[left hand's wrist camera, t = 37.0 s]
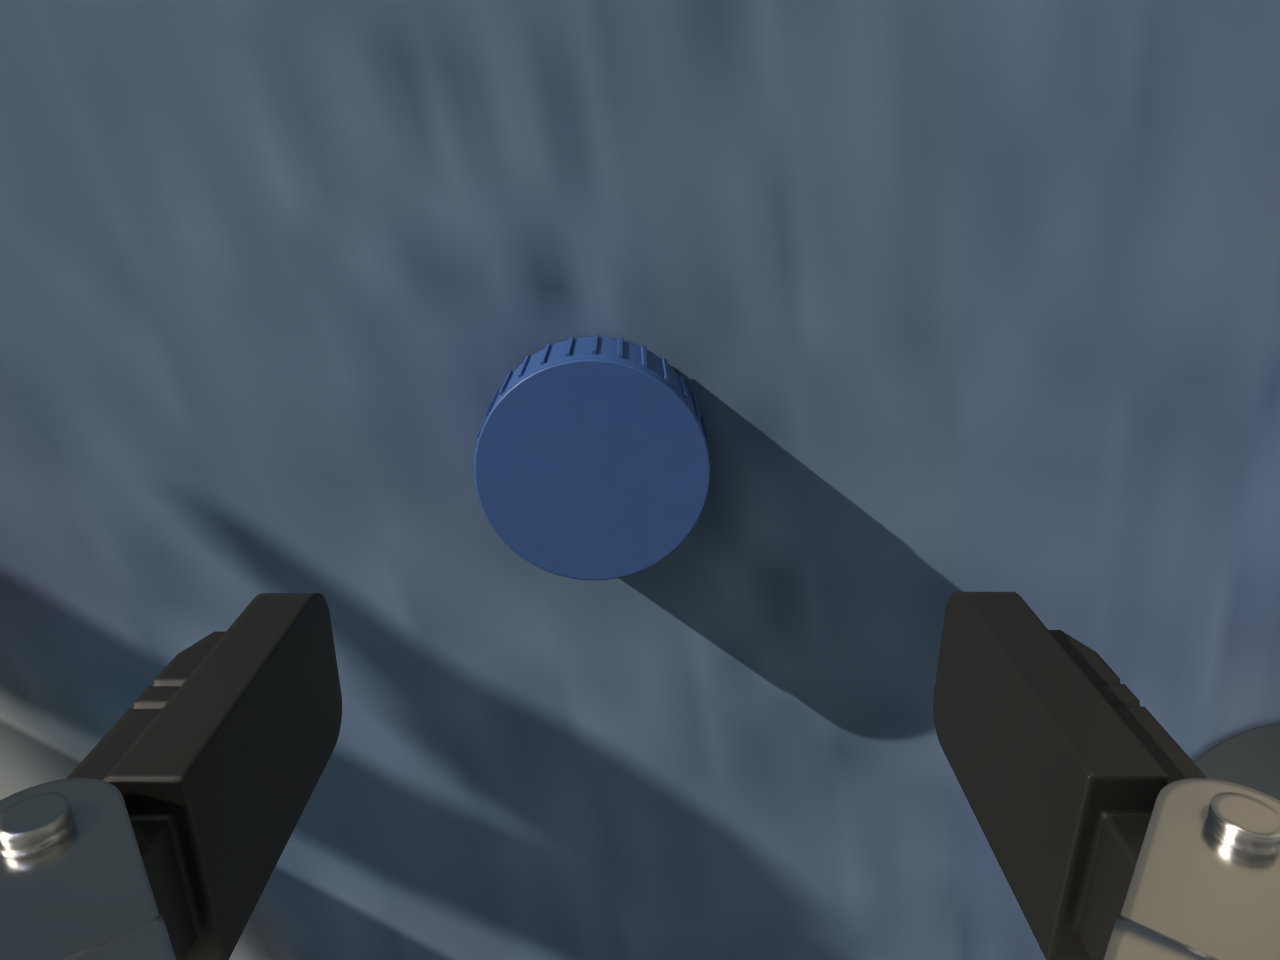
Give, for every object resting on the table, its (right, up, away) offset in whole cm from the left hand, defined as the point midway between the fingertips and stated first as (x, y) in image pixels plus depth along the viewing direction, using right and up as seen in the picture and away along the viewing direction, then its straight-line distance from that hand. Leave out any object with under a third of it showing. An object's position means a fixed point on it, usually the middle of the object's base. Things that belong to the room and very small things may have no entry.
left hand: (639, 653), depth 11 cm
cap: (-1, +2, +5) cm, 6 cm away
